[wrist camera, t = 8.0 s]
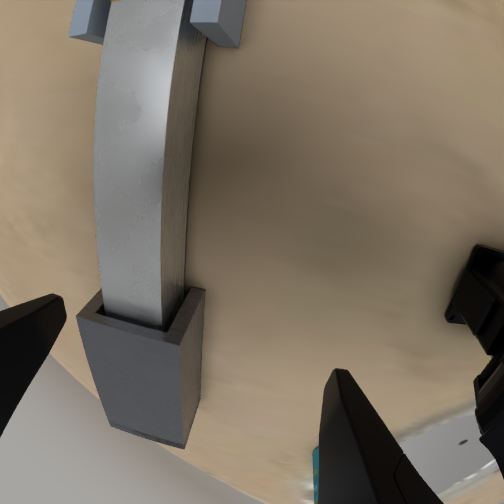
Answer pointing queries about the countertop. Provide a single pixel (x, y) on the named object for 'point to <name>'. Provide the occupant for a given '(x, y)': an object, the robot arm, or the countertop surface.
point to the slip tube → (145, 157)
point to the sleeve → (147, 369)
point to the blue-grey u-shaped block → (202, 17)
